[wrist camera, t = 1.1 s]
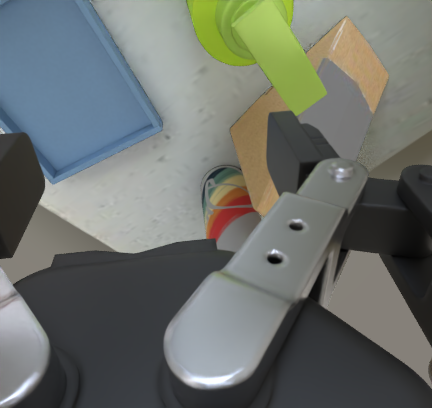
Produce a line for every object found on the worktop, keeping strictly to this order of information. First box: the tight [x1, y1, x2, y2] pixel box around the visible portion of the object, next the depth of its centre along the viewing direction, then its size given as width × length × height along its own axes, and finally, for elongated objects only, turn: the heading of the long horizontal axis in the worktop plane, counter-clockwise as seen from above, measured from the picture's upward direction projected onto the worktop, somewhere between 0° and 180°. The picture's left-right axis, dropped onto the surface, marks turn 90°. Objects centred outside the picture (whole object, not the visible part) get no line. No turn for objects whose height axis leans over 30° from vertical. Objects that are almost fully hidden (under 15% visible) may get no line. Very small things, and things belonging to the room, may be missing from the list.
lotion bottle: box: [201, 166, 261, 252], centre depth 36 cm, size 6×6×20 cm
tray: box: [0, 0, 163, 184], centre depth 34 cm, size 16×13×2 cm
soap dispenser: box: [186, 0, 327, 116], centre depth 24 cm, size 6×7×20 cm
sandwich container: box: [230, 16, 389, 217], centre depth 33 cm, size 9×15×15 cm, turn 135°
